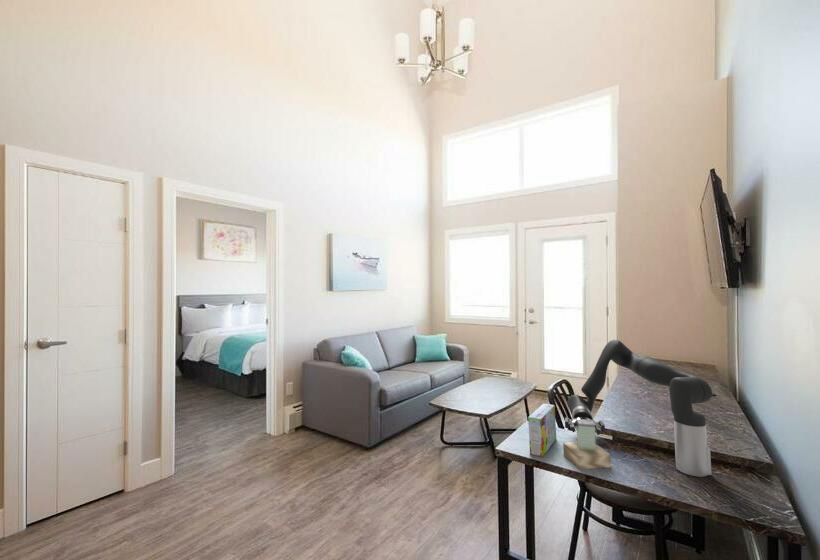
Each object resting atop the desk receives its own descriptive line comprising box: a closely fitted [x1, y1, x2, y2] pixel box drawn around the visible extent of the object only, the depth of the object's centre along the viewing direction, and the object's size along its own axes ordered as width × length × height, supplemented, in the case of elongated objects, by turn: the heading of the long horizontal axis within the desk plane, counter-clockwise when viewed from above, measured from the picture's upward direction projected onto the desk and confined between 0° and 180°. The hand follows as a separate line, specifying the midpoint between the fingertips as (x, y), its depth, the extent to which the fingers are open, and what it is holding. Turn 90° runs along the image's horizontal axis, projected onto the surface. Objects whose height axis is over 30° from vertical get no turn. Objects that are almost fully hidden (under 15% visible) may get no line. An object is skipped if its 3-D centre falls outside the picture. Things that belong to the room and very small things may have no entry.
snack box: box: [527, 403, 557, 458], centre depth 154 cm, size 21×6×15 cm, turn 144°
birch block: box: [562, 441, 612, 470], centre depth 141 cm, size 12×12×5 cm
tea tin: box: [576, 419, 596, 452], centre depth 141 cm, size 6×6×10 cm
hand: (585, 431), depth 140 cm, fingers open, 8 cm apart
